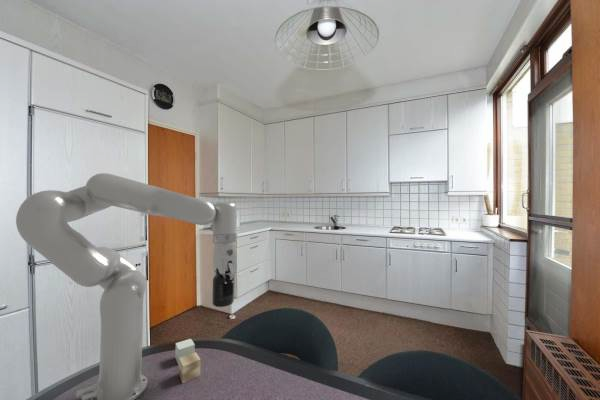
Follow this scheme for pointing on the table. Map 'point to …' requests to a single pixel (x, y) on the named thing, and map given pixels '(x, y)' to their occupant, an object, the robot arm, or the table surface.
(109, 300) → the robot arm
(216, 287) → the supplement bottle
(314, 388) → the table surface
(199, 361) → the beech block
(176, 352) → the sage block
